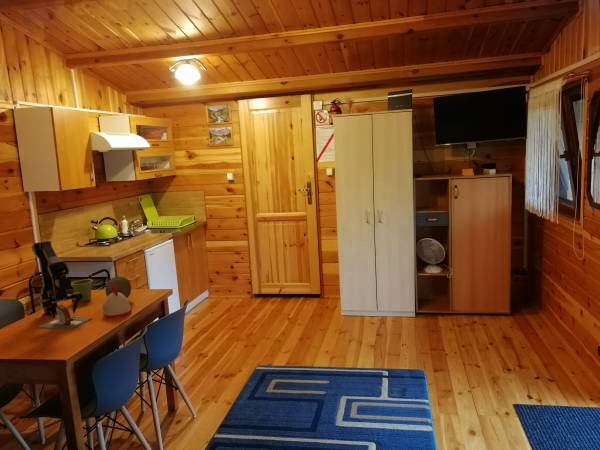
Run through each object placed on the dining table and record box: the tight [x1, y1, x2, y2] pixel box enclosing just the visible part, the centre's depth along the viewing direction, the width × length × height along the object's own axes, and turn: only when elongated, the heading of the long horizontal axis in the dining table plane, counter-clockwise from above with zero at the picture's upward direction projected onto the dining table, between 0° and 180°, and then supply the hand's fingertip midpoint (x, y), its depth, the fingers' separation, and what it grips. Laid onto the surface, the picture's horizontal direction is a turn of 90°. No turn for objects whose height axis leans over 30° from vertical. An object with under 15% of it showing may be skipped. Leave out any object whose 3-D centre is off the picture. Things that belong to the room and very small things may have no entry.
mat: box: [38, 317, 92, 330], centre depth 237 cm, size 20×14×1 cm
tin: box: [56, 304, 72, 325], centre depth 236 cm, size 15×3×8 cm, turn 42°
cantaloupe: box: [105, 276, 132, 299], centre depth 265 cm, size 14×14×15 cm
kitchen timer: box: [102, 286, 132, 319], centre depth 246 cm, size 14×14×15 cm
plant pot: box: [71, 278, 94, 303], centre depth 275 cm, size 12×12×11 cm
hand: (64, 315), depth 236 cm, fingers open, 9 cm apart
